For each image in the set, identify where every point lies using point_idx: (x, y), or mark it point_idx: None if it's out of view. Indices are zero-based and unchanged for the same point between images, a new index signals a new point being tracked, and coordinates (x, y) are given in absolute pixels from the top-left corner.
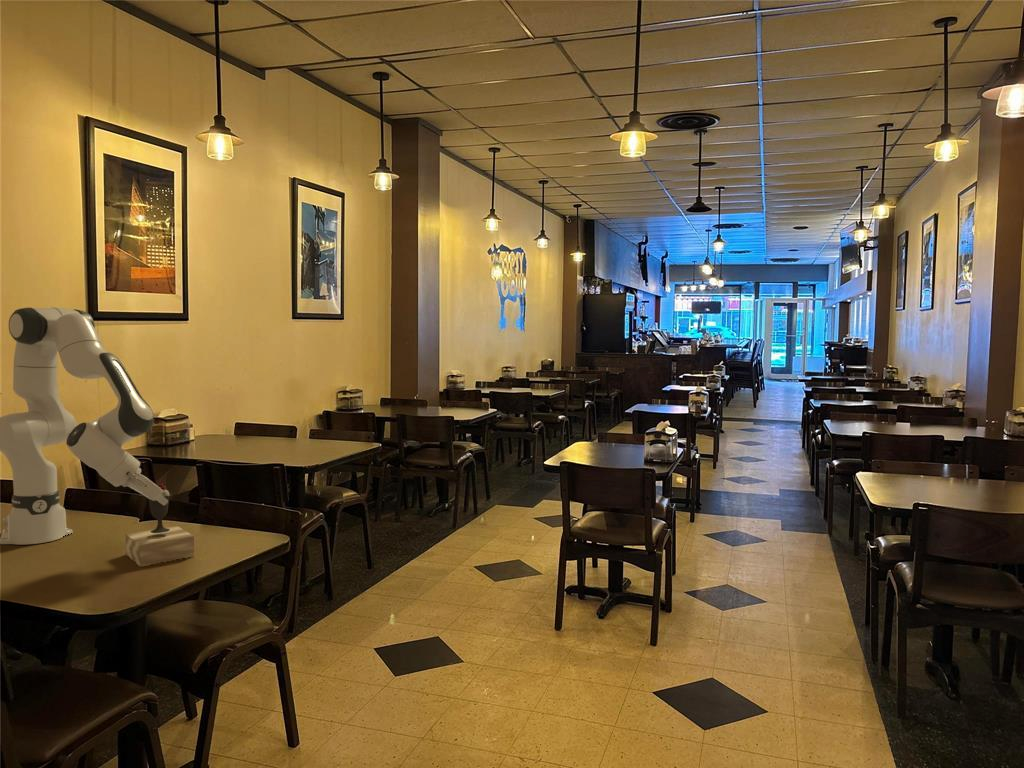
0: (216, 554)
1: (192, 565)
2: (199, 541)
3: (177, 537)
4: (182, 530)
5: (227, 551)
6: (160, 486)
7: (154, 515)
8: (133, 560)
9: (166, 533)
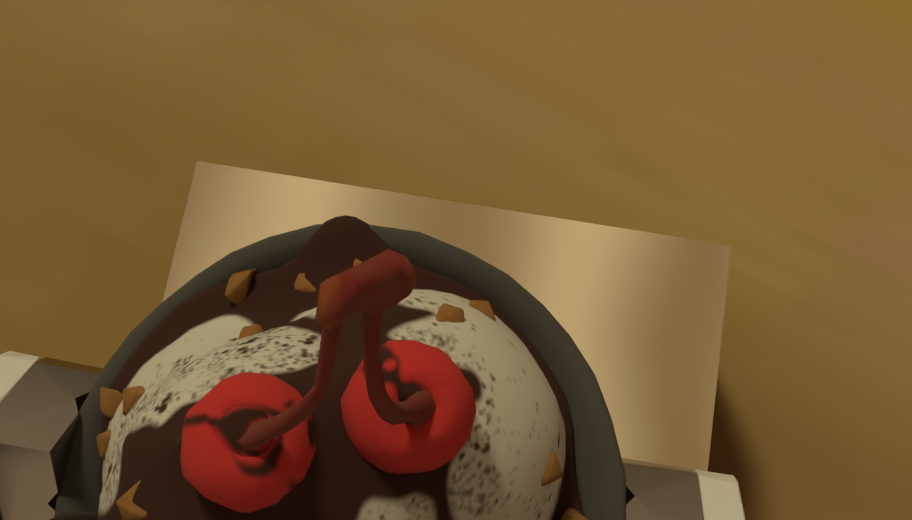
0: (746, 134)
1: (908, 421)
2: (278, 40)
3: (662, 393)
4: (422, 216)
5: (730, 36)
6: (346, 483)
7: None
8: None
9: None
